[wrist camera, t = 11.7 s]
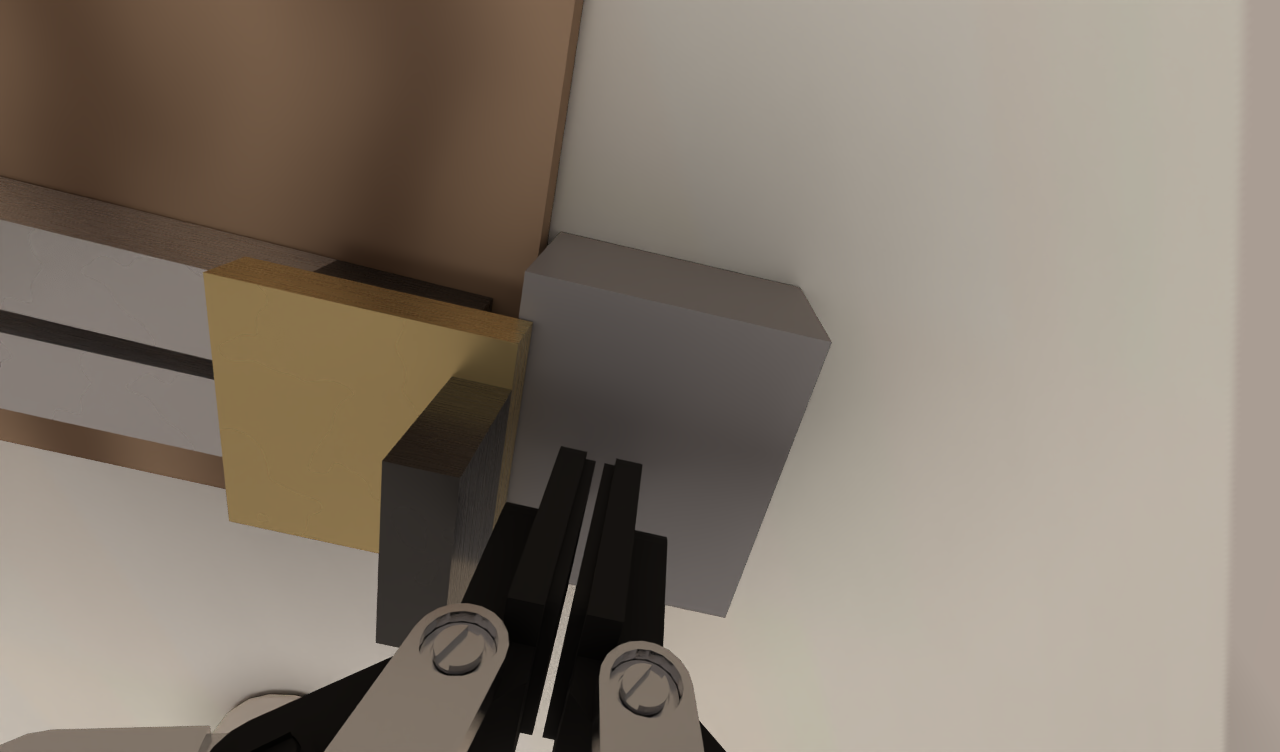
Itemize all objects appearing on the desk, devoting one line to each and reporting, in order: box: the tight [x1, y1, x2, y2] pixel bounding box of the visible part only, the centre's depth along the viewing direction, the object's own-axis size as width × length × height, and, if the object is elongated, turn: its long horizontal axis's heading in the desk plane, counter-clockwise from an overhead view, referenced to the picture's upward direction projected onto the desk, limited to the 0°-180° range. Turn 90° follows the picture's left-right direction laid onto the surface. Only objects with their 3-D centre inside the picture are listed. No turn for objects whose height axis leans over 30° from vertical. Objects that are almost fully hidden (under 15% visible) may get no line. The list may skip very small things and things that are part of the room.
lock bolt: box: [203, 256, 533, 648], centre depth 12 cm, size 6×6×4 cm
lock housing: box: [506, 232, 832, 618], centre depth 16 cm, size 6×8×4 cm
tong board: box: [0, 0, 584, 489], centre depth 15 cm, size 24×18×1 cm
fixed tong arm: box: [0, 309, 222, 457], centre depth 16 cm, size 19×2×2 cm, turn 78°
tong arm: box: [0, 177, 493, 360], centre depth 14 cm, size 23×4×3 cm, turn 77°
